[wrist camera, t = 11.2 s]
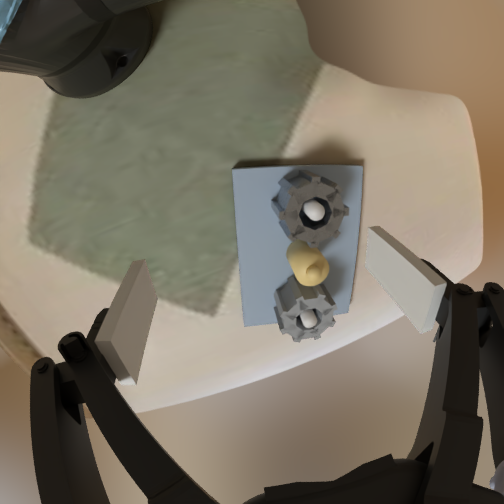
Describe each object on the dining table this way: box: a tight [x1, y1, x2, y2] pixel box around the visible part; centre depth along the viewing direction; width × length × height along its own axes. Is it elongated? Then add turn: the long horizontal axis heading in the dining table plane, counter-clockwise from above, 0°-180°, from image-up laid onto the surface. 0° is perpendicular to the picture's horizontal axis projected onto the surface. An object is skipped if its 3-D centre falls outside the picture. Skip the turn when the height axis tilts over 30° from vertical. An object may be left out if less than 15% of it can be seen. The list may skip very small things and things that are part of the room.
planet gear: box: [271, 170, 349, 248], centre depth 31 cm, size 8×8×5 cm
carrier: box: [232, 165, 363, 342], centre depth 34 cm, size 22×16×7 cm
